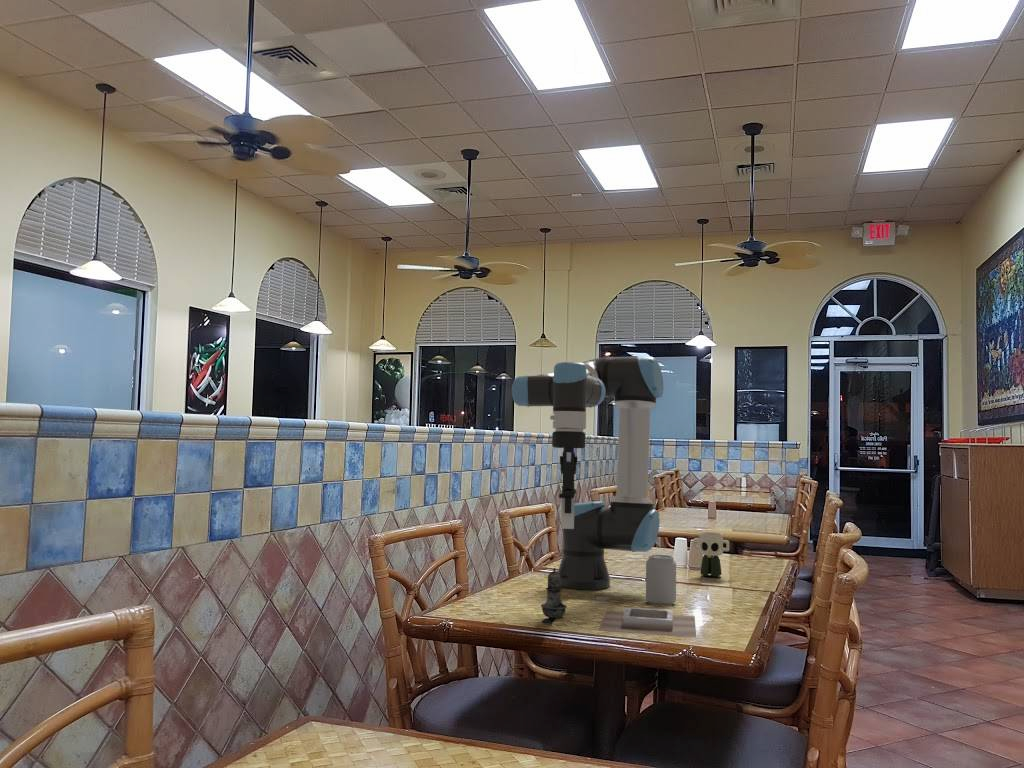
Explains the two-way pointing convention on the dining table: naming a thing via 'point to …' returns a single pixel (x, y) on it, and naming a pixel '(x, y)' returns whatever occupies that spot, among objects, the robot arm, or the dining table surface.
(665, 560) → the can
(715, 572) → the character mug
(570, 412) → the robot arm
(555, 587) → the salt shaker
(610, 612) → the walnut plate
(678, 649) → the dining table surface
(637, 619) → the steel collar
